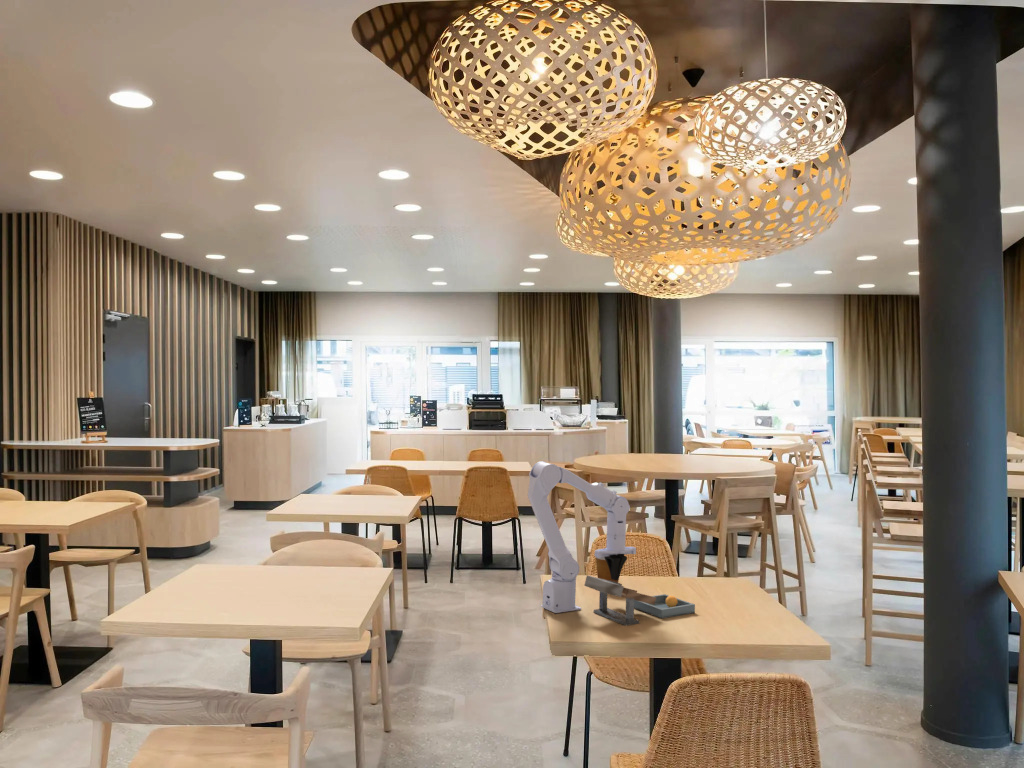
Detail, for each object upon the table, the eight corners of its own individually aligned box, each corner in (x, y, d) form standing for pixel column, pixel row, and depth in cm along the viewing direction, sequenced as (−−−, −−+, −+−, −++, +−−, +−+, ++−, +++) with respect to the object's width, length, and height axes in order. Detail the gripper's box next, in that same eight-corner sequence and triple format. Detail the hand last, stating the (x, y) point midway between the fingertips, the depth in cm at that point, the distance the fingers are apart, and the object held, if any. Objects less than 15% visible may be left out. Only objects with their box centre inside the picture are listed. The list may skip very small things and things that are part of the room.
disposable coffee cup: (621, 592, 255) (622, 555, 255) (592, 589, 257) (593, 553, 257) (623, 585, 264) (624, 549, 264) (595, 583, 266) (595, 547, 266)
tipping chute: (603, 593, 217) (606, 582, 218) (567, 579, 232) (570, 569, 232) (654, 605, 227) (656, 594, 228) (617, 591, 242) (619, 581, 242)
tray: (661, 618, 226) (661, 609, 226) (632, 607, 237) (632, 599, 237) (694, 612, 233) (694, 604, 233) (664, 602, 244) (664, 594, 244)
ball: (681, 605, 236) (672, 611, 234) (673, 602, 239) (664, 608, 237) (678, 595, 236) (669, 600, 234) (670, 592, 239) (661, 597, 237)
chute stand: (625, 625, 218) (626, 600, 218) (593, 612, 230) (594, 588, 230) (639, 623, 221) (639, 598, 221) (607, 610, 233) (607, 586, 233)
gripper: (605, 538, 232) (604, 584, 232) (643, 535, 240) (641, 579, 240) (591, 534, 238) (589, 579, 238) (628, 531, 246) (627, 574, 246)
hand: (614, 579), depth 239 cm, fingers closed
